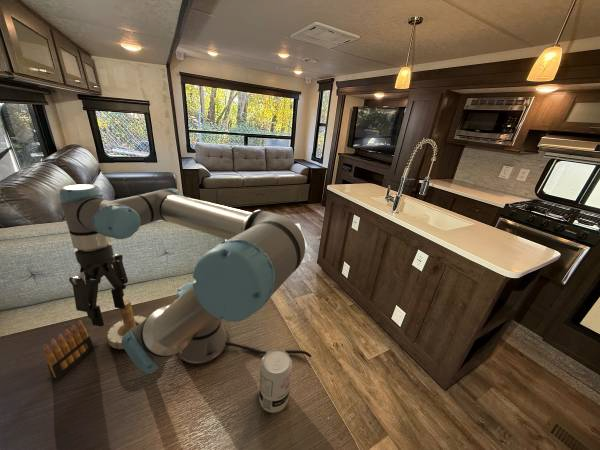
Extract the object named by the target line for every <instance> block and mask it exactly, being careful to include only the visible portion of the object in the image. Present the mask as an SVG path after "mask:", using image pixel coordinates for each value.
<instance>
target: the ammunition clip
mask: <svg viewBox="0 0 600 450" xmlns="http://www.w3.org/2000/svg"><path fill="white" fill-rule="evenodd" d="M77 327H78V328H77ZM77 327H76V325H75V324H73V323H72V324H71V327H70V328H71V331H70V330H69V329H67V328H65V330H64V336H65V337H64V336H63V335H62V333H58V335H57V340H58V342H57V341H56V340H55V339H54V338H51V340H50V345H51V348H50V346H49V345H48V344H46V343H45V344H44V343H43V351H44V355H45V359H46V363H47V367H48V370H49V373H50V376H51V378H52V379H55V380H58V379H60V378H61V377H62V376H63V375H65V374H66V373H67V372H68V371H69V370H70V369H71V368H73V367H74V366H75V365H77V363H78V362H79V361H80V360H82V359H83V358H84V357H85V356H86V355H87V354H89V353H90V352H91V351H93V350H94V349H95V346H94V344H93V341H92V338H91V336H90V335H89V334H88V331H87V329H86V327H85V325H84V324H83V322H82V320H81V319H78V320H77ZM71 333H72V334H71ZM58 343H59V344H58ZM51 349H52V350H51Z"/></svg>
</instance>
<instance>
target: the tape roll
mask: <svg viewBox="0 0 600 450" xmlns="http://www.w3.org/2000/svg"><path fill="white" fill-rule="evenodd" d="M147 318H148V317H145V316H142V315H134V319H135V324H136V326H137V325H139V324H140V323H142V322H143V321H144V320H146V319H147ZM124 331H125V327H124V323H123V319H121V320H119V321H117V322H116V323H114V324H113V325H112V326H111V327H110V328H109V330H108V332H107V340H108V342H109V343H108V345H109V344H110V345H109V346H110V347H112V348H114V349H116V350H117V349H118V350H125V349H124V347H123V345H122V337H123V336H120V334H121V333H122V332H124Z"/></svg>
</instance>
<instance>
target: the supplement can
mask: <svg viewBox="0 0 600 450" xmlns="http://www.w3.org/2000/svg"><path fill="white" fill-rule="evenodd" d="M266 352H267V353H266V354H264V355H263V357H262V358H261V361H260V363H259V365H260V366H259V388H258V389H259V391H258V402H259V404H260V407H261V408H262V409H263V410H264V411H265V412H268V413H273V414H274V413H275V414H276V413H278V412H281V411H282V410H284V409H285V408H286V407H287V405H288V403H289V399H290V390H291V381H292V372H293V361H292V358H291V357H290V355H289V353H286V352H285V351H284V349H281V348H273V349H270V350H268V351H266Z"/></svg>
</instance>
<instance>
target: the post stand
mask: <svg viewBox="0 0 600 450" xmlns="http://www.w3.org/2000/svg"><path fill="white" fill-rule="evenodd" d="M123 300H124V305H125V308H124V309H120V308H119V311H120V317H121V320H123V323H124V327H125V331H124V332H122V333H121V334H120V336H124V335H125V334H126V333H127V332H129V330H130V329H133V328H135V327H136V324H135V319H134V316H135V315H134V311H133V306H132V303H131V300H130V299H128V298H126V299H123ZM107 343H108V346H111V345H110V344H109V341H108V342H107Z"/></svg>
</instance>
